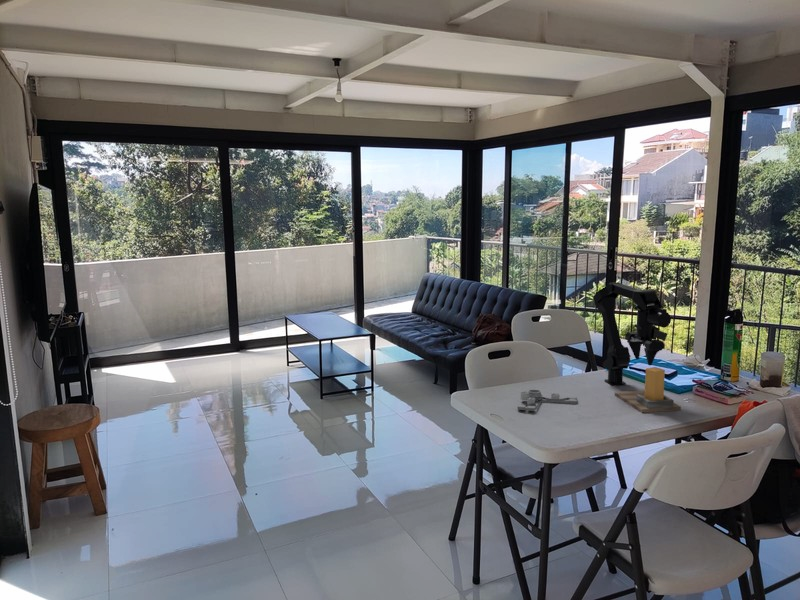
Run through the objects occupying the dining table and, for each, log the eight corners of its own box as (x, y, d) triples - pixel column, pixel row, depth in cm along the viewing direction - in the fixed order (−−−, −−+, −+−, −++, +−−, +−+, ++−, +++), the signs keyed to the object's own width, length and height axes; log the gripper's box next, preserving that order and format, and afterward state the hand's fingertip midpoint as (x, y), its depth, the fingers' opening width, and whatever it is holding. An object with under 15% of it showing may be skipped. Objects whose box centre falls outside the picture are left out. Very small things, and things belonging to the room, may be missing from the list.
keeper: (614, 395, 230) (614, 386, 230) (650, 392, 232) (650, 383, 232) (641, 412, 211) (642, 402, 210) (680, 409, 213) (681, 399, 212)
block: (644, 402, 218) (645, 368, 216) (653, 400, 219) (655, 367, 217) (653, 406, 213) (654, 371, 211) (663, 404, 215) (664, 370, 213)
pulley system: (500, 405, 225) (525, 415, 212) (500, 393, 225) (525, 402, 211) (557, 396, 237) (583, 405, 224) (557, 384, 237) (583, 392, 223)
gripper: (678, 326, 218) (677, 367, 220) (651, 317, 236) (649, 355, 239) (650, 328, 217) (649, 369, 219) (625, 318, 235) (623, 356, 237)
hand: (643, 362), depth 229 cm, fingers open, 9 cm apart
